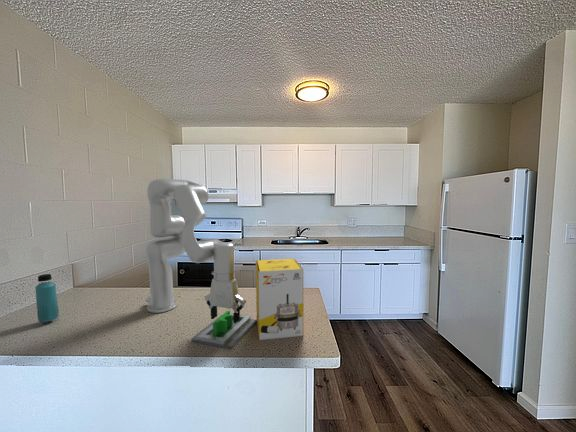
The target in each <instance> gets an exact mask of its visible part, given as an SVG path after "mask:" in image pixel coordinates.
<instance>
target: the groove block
mask: <svg viewBox="0 0 576 432" xmlns="http://www.w3.org/2000/svg"><path fill="white" fill-rule="evenodd" d="M233 313H234V312H230V315H232V322H233ZM222 315H223V314H221V315H220V316H219V317H218V318H217V317H216V319H214V320H213V321H212V322H210V323H209V324H208V325H207V326H206V327H204V328H203V329H202V330H200V331H199V332H197V333H196V334H195V335H194V336H193V337H191V339H190V340H191V342H193V343H197V344H198V343H199V344H204V345H208V346H214V347H219V348H223V349H228V350H232V349H233V348H234V347H235V345H236V344H238V342H239V341H240V340H242V338H243V337H244V336H245V335H246V334H247V333H248V332H249V331H250V330H251V329H252V328H253V326H254V325H255V324H257V319H254V318H253V319H252V316H251V315H245V314H240V319H239V321H237V322H236V323H234V322H233V326H232V327H227V333H225V332H219V333H218V334H217V335H216V336H213V323H214V322H215V321H216V320H217V319H219V318H220V317H221V316H222Z"/></svg>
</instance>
